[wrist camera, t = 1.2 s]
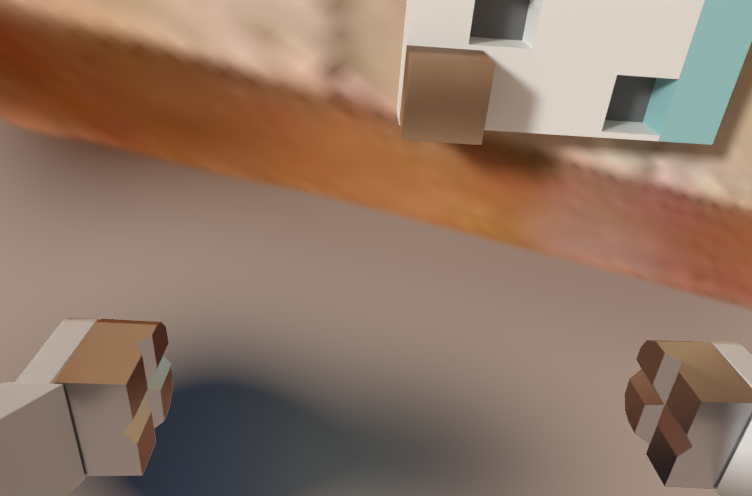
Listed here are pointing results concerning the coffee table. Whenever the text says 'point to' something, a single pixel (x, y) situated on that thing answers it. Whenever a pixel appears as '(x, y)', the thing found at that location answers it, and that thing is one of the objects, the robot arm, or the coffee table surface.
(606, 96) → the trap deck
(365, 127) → the coffee table surface
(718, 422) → the robot arm
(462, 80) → the block
